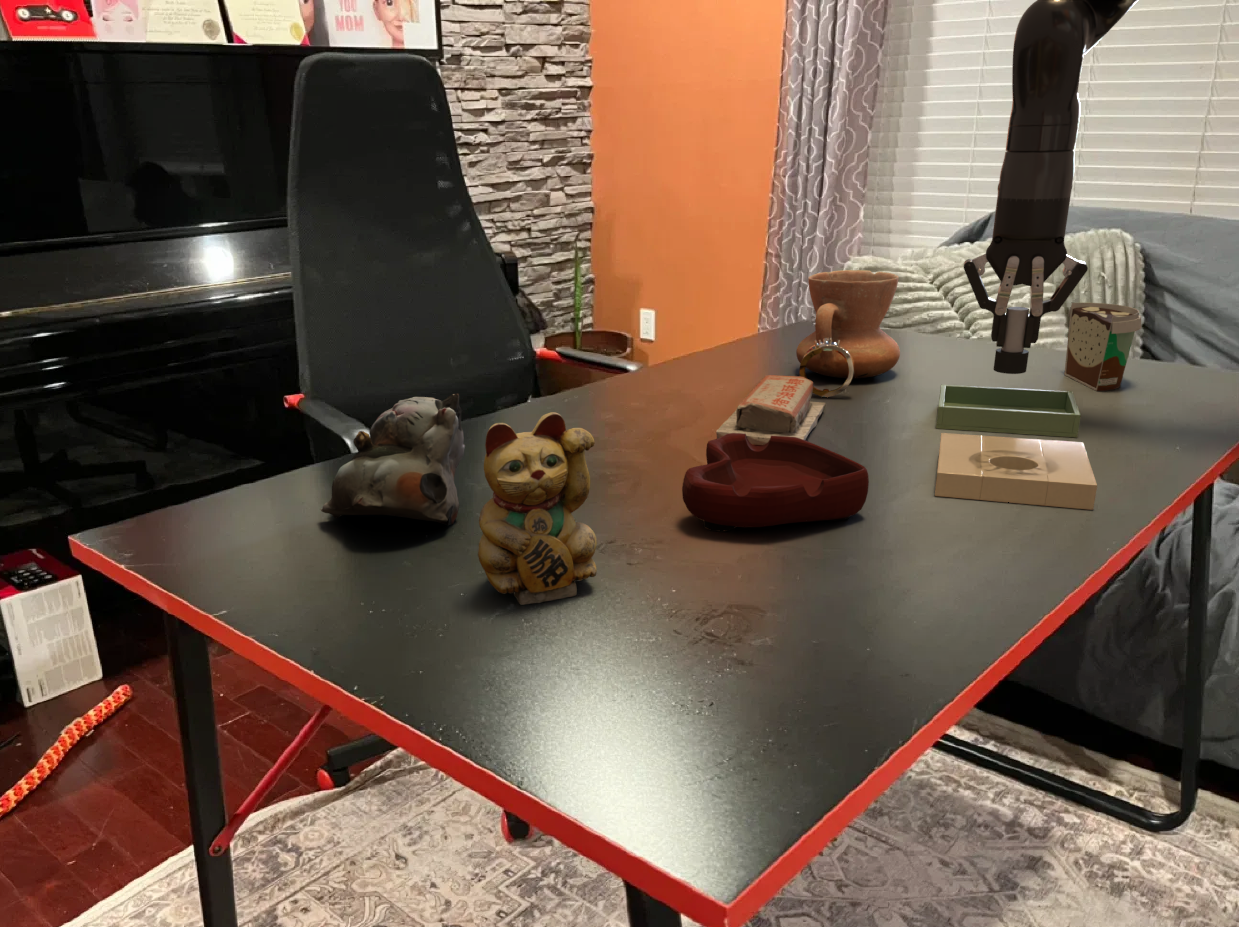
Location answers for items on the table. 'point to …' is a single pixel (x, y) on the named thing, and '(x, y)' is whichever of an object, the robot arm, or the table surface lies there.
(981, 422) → the tray
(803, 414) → the packaged product
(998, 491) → the sink deck
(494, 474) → the decorative figurine
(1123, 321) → the food container
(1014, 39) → the robot arm
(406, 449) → the lucky cat figurine
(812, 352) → the ring
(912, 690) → the table surface
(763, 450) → the ashtray
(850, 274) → the ceramic jug
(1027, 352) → the plug
